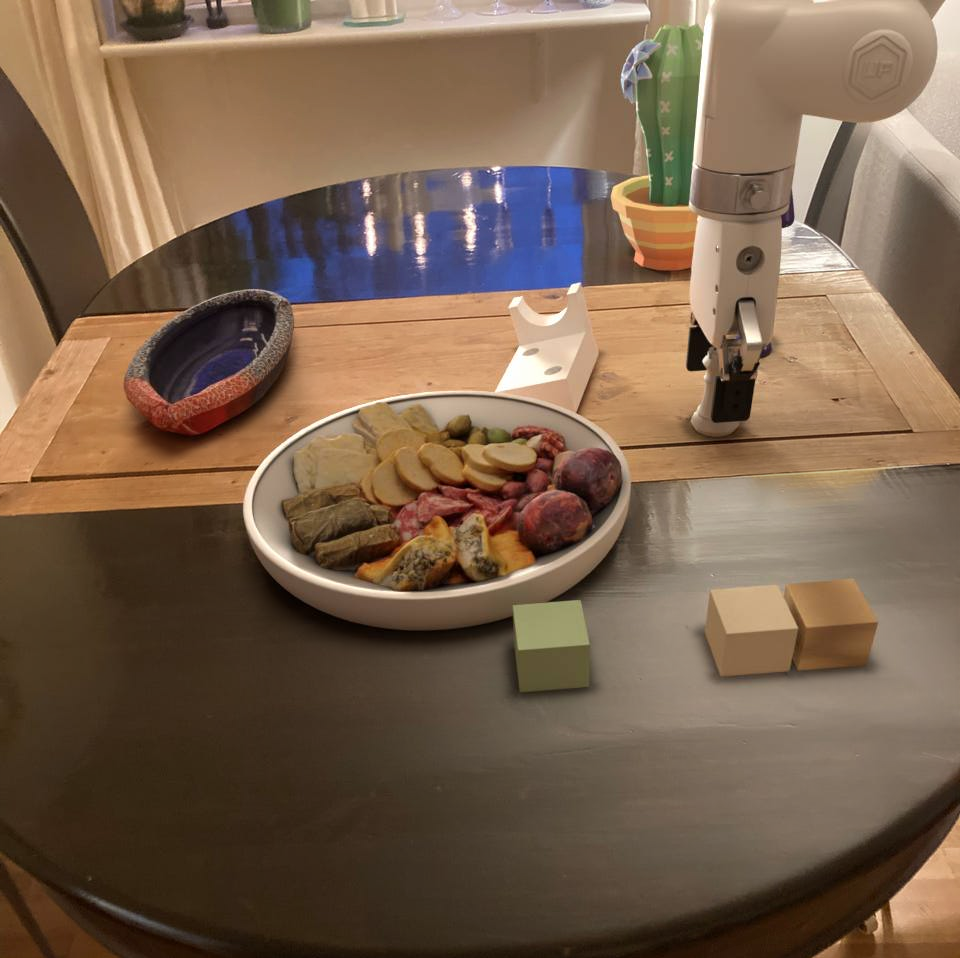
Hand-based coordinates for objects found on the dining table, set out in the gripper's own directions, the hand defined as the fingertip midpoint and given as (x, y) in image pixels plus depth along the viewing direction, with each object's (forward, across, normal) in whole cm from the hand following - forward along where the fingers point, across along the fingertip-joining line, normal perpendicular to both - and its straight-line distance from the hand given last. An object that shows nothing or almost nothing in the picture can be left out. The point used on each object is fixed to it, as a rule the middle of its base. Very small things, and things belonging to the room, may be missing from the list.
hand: (716, 393), depth 84 cm
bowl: (+4, -12, +25) cm, 28 cm away
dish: (+5, +19, +48) cm, 52 cm away
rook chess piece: (+4, 0, 0) cm, 4 cm away
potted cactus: (+4, +45, -5) cm, 45 cm away
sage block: (+4, -30, +18) cm, 35 cm away
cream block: (+4, -30, +5) cm, 31 cm away
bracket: (+4, +12, +14) cm, 19 cm away
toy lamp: (+4, +17, -8) cm, 19 cm away
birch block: (+4, -30, 0) cm, 30 cm away
